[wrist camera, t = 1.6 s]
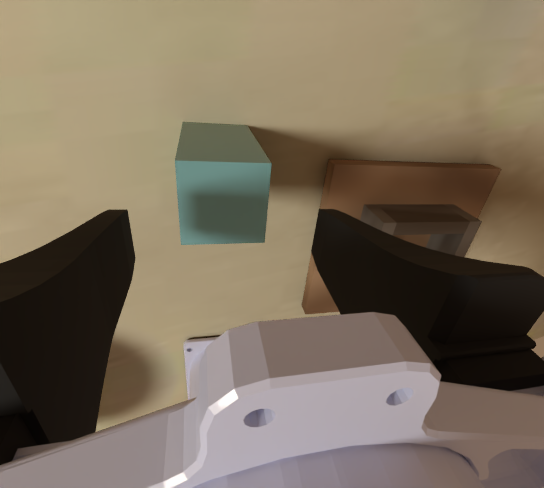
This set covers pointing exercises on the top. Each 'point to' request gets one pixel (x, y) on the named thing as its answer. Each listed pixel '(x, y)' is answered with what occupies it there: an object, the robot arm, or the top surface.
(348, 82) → the top surface
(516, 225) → the top surface
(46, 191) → the top surface
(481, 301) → the robot arm
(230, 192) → the block
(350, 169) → the end holder
